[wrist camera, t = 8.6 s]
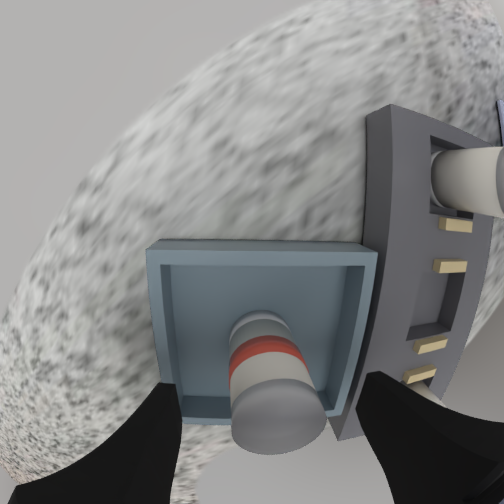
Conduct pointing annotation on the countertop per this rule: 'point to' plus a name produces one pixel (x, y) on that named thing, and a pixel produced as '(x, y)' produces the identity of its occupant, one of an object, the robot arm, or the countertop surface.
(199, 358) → the tray
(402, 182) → the fuse holder
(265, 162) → the countertop surface
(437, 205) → the fuse
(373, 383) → the robot arm
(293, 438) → the marked fuse
